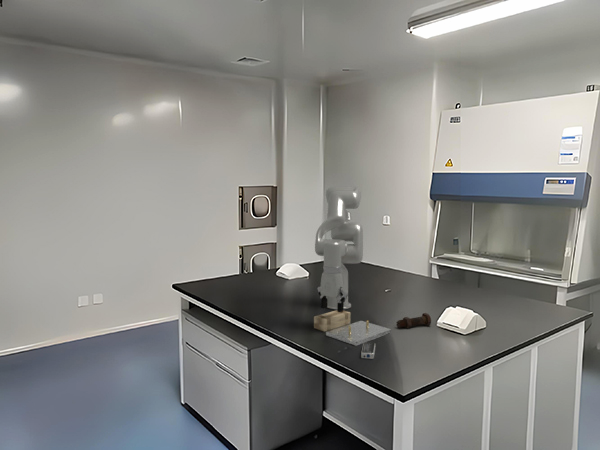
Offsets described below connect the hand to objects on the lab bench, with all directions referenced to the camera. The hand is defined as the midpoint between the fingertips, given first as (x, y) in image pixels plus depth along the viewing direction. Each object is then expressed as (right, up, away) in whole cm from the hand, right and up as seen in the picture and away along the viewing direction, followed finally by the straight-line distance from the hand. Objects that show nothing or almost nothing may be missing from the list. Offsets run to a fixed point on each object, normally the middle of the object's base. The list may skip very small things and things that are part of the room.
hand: (332, 309), depth 198 cm
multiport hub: (+11, -11, -30) cm, 34 cm away
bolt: (+35, -8, 0) cm, 36 cm away
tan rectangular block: (0, -7, +2) cm, 7 cm away
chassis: (+10, -8, -10) cm, 16 cm away
